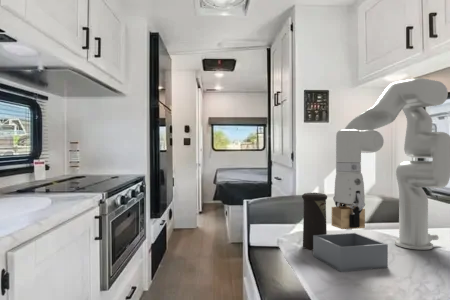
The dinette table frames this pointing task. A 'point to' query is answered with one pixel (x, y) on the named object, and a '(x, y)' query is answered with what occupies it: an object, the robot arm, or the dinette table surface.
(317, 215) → the container
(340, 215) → the wooden crate
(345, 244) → the grey crate
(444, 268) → the dinette table surface
